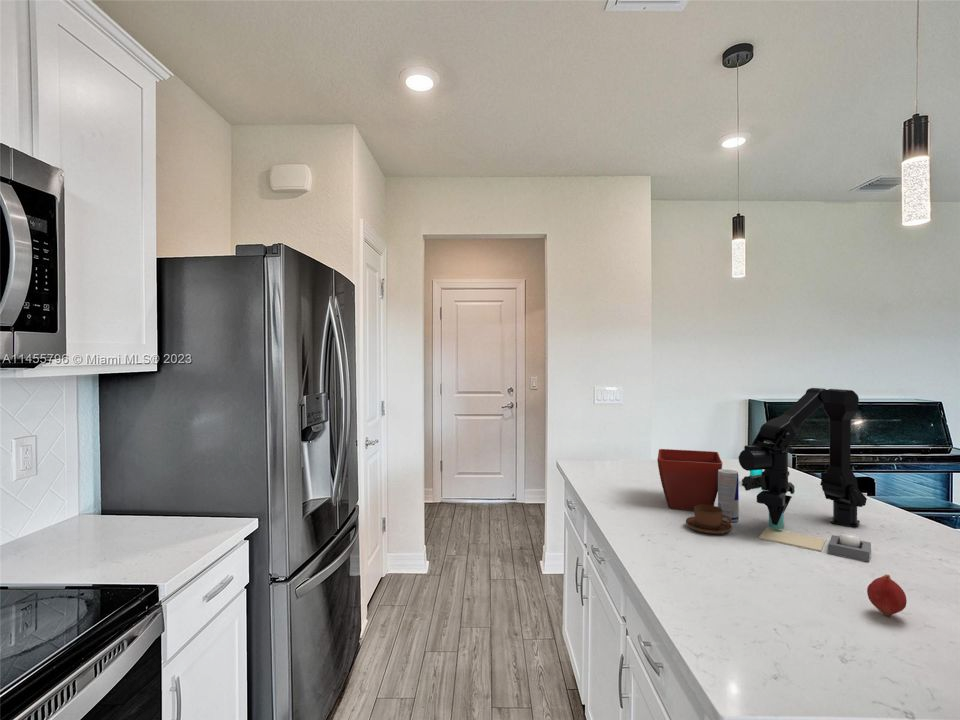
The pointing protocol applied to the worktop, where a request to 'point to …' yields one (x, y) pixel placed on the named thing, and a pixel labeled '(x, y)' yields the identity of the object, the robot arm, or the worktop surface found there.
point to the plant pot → (689, 477)
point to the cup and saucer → (709, 520)
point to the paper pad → (793, 539)
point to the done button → (850, 540)
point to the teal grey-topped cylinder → (780, 523)
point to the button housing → (849, 549)
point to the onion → (886, 595)
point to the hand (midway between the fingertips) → (776, 522)
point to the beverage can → (728, 494)
